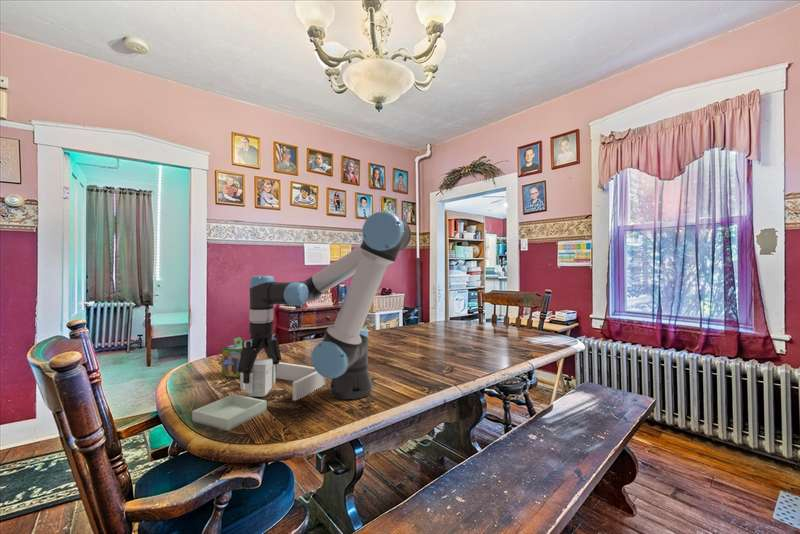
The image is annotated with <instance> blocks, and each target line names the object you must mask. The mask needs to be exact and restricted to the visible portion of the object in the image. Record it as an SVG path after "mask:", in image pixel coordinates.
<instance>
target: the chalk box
mask: <svg viewBox="0 0 800 534" xmlns="http://www.w3.org/2000/svg"><path fill="white" fill-rule="evenodd" d="M238 341H239V343H237V342H238ZM242 342H243V340H242V337H236V338H233V344H230V345H228V346H225V347H222V348H221V349H222V350H221V351H222V355H221V356H222V360H221V361H222V363H221V364H222V367H221V369H222V370H221V376H224V378H226V377H228V378H238V379H240V372H238V367H239V362H240V357H241V353H242ZM247 369H248V368H247Z"/></svg>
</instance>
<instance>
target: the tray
mask: <svg viewBox="0 0 800 534" xmlns="http://www.w3.org/2000/svg"><path fill="white" fill-rule="evenodd" d="M267 402H268V401H267V400H264V399H260V398H255V397H252V396H251V397H248V396H246V395H242V394H241V395H240V394H236V393H232V394H230V395H227V396H225V397H222V398H220V399H217V400H215V401H212V402H210V403H208V404H205V405H203V406H201V407H198V408H196V409H193V410H192V411H191V412H192V413H191V414H192V415H191V418H192V419H191V420H192V421H191V422H192V423H197V424H199V425H200V424H201V425H205V426H207V427H213V428H215V429H219V430H222V429H223V431H227V432H229V431H230V430H232V429H234V428H237V427H238V426H240V425H242V424H244V423H246V422H247V421H248V422H249V421H250V420H252V419H254V418H255V417H257V416H259V415H261V414H263V413H265V412H267V411H268V410H267V409H268V408H267V405H268V403H267Z"/></svg>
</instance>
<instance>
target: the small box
mask: <svg viewBox="0 0 800 534" xmlns="http://www.w3.org/2000/svg"><path fill="white" fill-rule="evenodd" d="M272 369H273V359H272V358H268V357H266V358H265V357H264V358H263V357H258V358H257V357H256V360H255V362H254V365H253V367H252V370H251V373H253V393H251V394H250V393H247V397H251V398H252V397H266V396H267V394H268V393H269V392H270V390H271V389H273V383H272Z"/></svg>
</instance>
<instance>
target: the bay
mask: <svg viewBox="0 0 800 534" xmlns="http://www.w3.org/2000/svg"><path fill="white" fill-rule="evenodd" d="M275 379H280V380H286V381H292V401H294V400H295V401H294V402H297V401H299V400H300V398H301V399H302V398H304V397H306V396H308V395H309V393H310V394H312V393H313V392H315V391H317V390H318V388H319V389H320V388H322V387H324V386H326V378H325V377H323V376H321V375H320V374H319V373H318V372H317V371H316V370H315V368H314V366H308V365H301V364H294V363H290V362H289V363H288V362H280V361H279V364H277V365H276V373H275ZM239 380H240V381H239V386H240V387H239V390H240V389H241V391H245V383H244V382H243V373H240V378H239ZM323 385H324V386H323ZM316 389H317V390H316ZM314 390H315V391H314ZM307 394H308V395H307ZM298 399H299V400H298ZM296 400H297V401H296Z"/></svg>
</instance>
